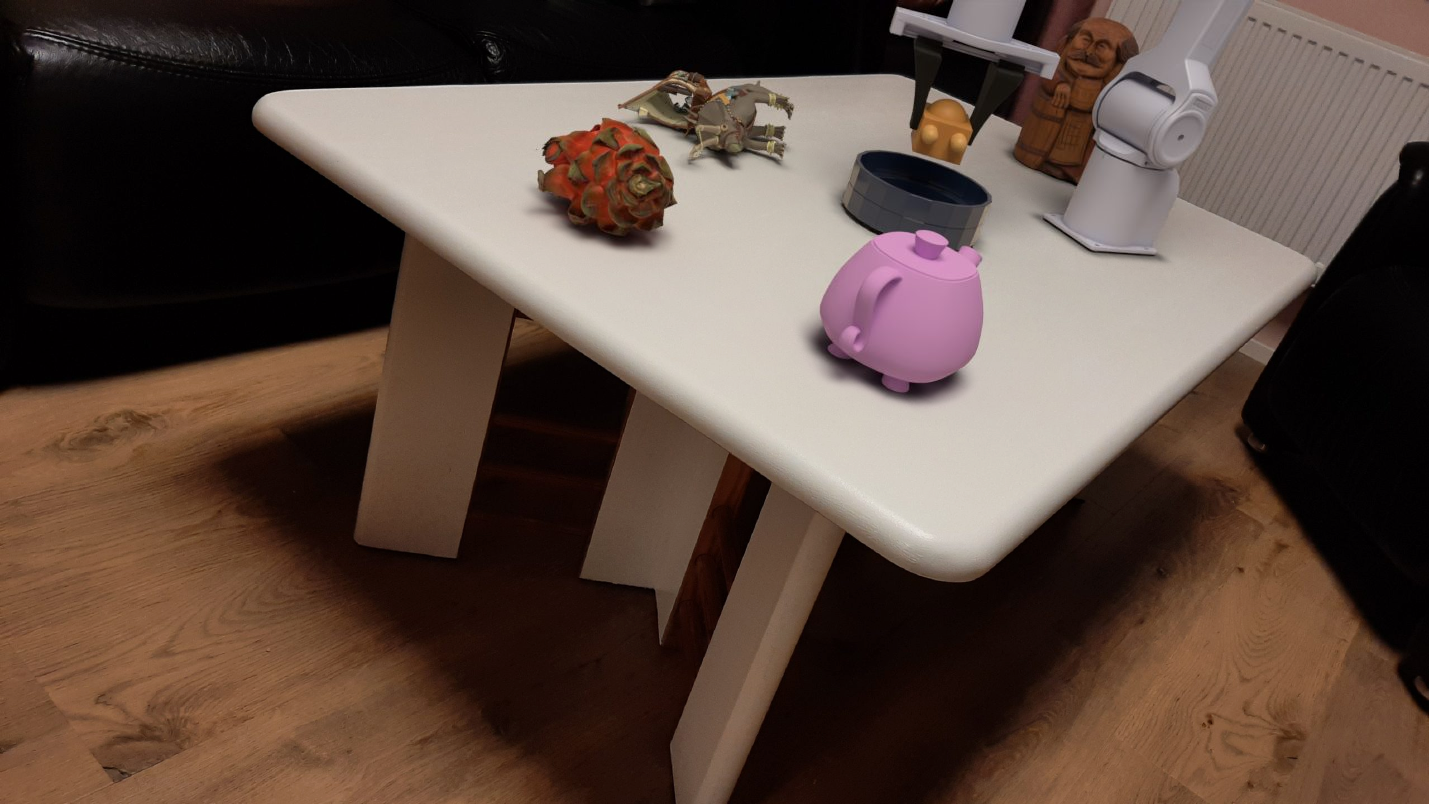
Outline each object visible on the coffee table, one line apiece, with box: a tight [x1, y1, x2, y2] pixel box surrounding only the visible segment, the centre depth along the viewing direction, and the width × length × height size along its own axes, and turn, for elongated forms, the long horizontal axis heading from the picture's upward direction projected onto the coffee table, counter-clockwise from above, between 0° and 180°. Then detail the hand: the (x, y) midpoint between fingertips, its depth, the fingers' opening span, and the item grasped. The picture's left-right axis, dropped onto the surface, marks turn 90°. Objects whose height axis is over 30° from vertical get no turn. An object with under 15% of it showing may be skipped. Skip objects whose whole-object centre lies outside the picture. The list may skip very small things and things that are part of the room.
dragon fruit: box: [535, 117, 678, 237], centre depth 77 cm, size 8×8×12 cm
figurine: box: [617, 69, 795, 160], centre depth 102 cm, size 20×6×17 cm
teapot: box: [819, 230, 984, 393], centre depth 69 cm, size 10×15×9 cm
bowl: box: [841, 149, 993, 251], centre depth 96 cm, size 13×13×4 cm
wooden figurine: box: [1013, 16, 1140, 185], centre depth 123 cm, size 12×6×18 cm, turn 55°
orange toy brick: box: [910, 98, 973, 166], centre depth 92 cm, size 8×4×5 cm, turn 171°
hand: (940, 134), depth 94 cm, fingers closed on orange toy brick, 4 cm apart
